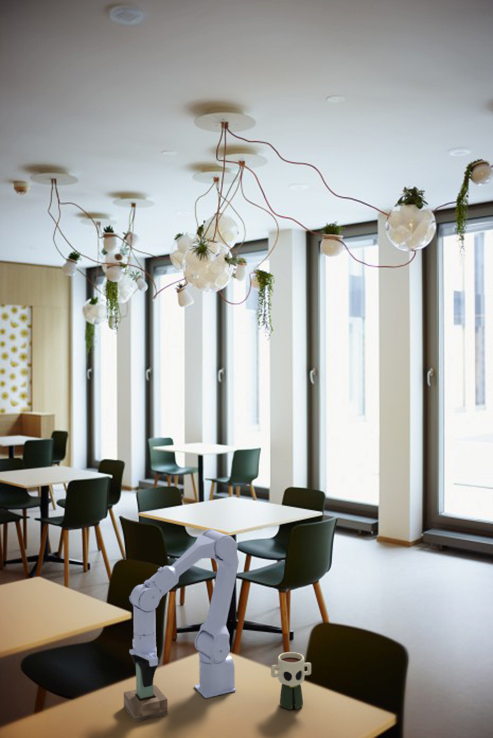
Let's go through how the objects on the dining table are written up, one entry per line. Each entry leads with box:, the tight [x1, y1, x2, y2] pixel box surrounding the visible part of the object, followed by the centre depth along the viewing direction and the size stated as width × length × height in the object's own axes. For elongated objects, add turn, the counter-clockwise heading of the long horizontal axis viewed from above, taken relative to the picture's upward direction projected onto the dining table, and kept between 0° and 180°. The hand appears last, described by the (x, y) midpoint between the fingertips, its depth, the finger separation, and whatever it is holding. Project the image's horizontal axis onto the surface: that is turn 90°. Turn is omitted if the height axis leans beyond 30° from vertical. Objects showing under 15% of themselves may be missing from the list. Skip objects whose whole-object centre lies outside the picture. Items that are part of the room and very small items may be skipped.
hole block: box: [123, 684, 169, 723], centre depth 192 cm, size 9×9×4 cm
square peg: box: [135, 663, 154, 698], centre depth 192 cm, size 4×4×8 cm
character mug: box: [270, 651, 312, 710], centre depth 194 cm, size 11×7×13 cm, turn 98°
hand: (145, 682), depth 192 cm, fingers closed on square peg, 3 cm apart
